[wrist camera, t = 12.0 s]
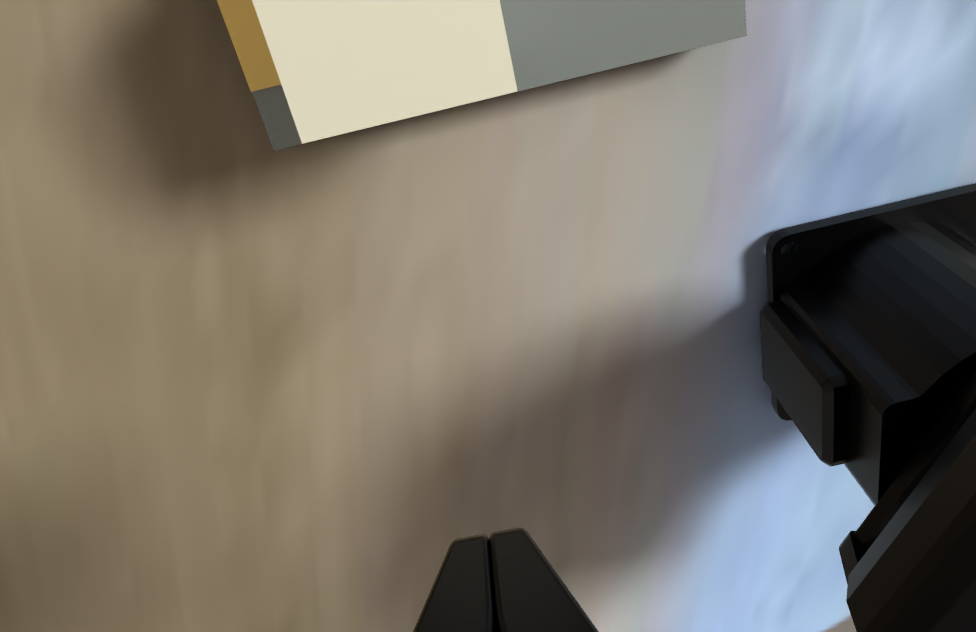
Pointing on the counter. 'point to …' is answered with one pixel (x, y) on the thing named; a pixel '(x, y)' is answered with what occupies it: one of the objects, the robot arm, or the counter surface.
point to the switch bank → (524, 43)
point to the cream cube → (383, 59)
